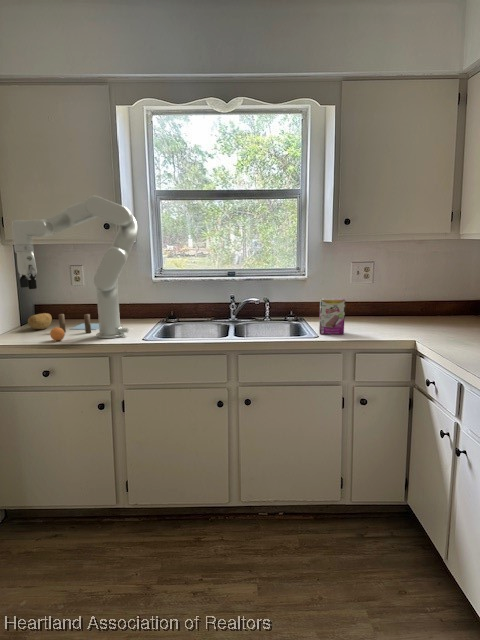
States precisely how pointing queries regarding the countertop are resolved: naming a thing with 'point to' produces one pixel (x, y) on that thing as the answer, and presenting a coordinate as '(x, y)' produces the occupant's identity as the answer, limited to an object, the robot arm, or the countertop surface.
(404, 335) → the countertop surface
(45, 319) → the potato
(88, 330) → the right post
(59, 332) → the ball
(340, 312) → the candy bar box
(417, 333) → the countertop surface
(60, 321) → the left post
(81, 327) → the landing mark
